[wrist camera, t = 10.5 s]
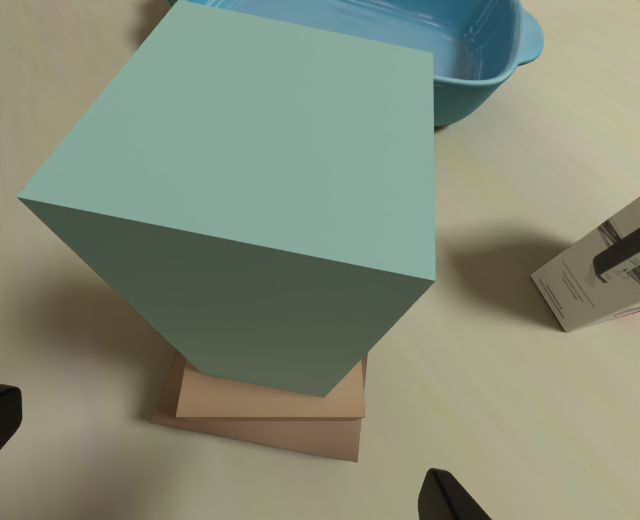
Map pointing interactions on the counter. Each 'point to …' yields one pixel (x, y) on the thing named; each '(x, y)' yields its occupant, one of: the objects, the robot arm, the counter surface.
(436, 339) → the counter surface
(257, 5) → the casserole dish
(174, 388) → the base plinth
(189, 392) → the top coaster
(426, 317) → the counter surface
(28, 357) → the counter surface
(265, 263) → the teal block
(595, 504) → the counter surface
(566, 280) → the ink box
